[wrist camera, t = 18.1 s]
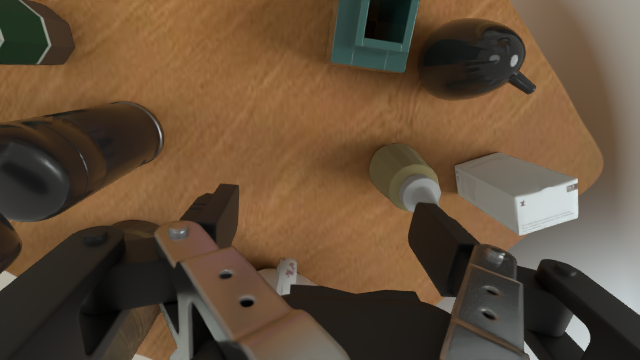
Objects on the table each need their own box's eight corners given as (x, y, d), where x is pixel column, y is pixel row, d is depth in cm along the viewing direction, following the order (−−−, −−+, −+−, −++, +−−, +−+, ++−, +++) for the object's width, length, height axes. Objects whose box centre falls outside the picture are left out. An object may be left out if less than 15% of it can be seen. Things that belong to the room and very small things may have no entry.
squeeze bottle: (373, 132, 47) (414, 166, 30) (419, 144, 48) (484, 184, 31) (357, 178, 49) (387, 234, 33) (402, 189, 51) (453, 248, 34)
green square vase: (324, 64, 43) (335, 60, 30) (333, -7, 40) (349, -46, 27) (384, 72, 44) (420, 73, 31) (397, 4, 41) (443, -28, 28)
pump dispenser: (441, 112, 46) (504, 130, 32) (394, 67, 44) (440, 66, 29) (491, 58, 44) (582, 51, 30) (445, 7, 41) (521, -27, 27)
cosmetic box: (457, 194, 52) (515, 240, 38) (452, 162, 50) (512, 198, 36) (504, 181, 51) (580, 221, 37) (502, 148, 49) (581, 178, 35)
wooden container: (112, 295, 54) (-4, 432, 34) (84, 223, 49) (-72, 333, 28) (193, 287, 55) (129, 417, 34) (175, 215, 50) (86, 317, 29)
